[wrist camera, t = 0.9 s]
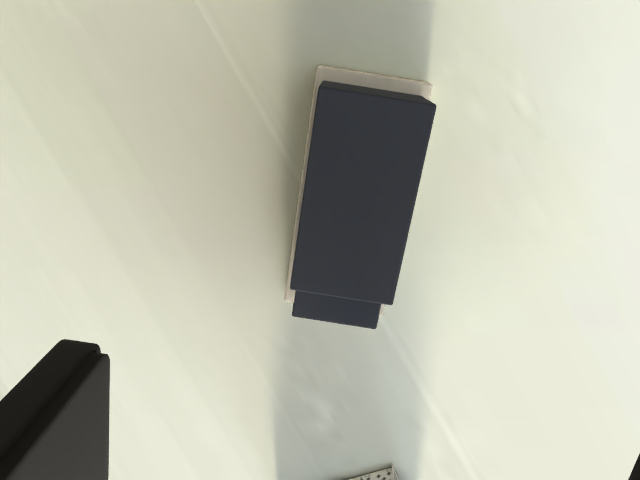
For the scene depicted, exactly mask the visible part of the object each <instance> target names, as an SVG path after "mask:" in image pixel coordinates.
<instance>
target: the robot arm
mask: <svg viewBox="0 0 640 480" xmlns="http://www.w3.org/2000/svg"><path fill="white" fill-rule="evenodd" d="M109 387H110V359H109V356H108V355H107V354H102V353H101V351H100V347H99V345H97V344H94V343H87V342H80V341H73V340H67V339H64V340H61V341H60V342H58V343H57V344H56V345H55V346H54V347H53V348H52V349H51V350H50V351H49V352H48V353H47V354H46V355H45V356H44V357H43V358H42V359H41V360H40V361H39V362H38V363H37V365H36V366H35V367H34V368H33V369H32V370H31V371H30V372H29V373H28V374H27V375H26V376H25V377H24V378H23V379H22V380H21V381H20V382H19V383H18V384H17V385H16V386H15V387H14V388H13V389H12V390H11V391H10V392H9V393H8V394H7V395H6V396H5V397H4V398H3V399H2V400H1V401H0V480H108V466H109ZM628 480H640V454H639V456H638V459H637V461H636V463H635V466H634V468H633V470H632V472H631V475H630V477H629V479H628Z"/></svg>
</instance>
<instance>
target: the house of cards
mask: <svg viewBox="0 0 640 480" xmlns="http://www.w3.org/2000/svg"><path fill="white" fill-rule="evenodd" d="M348 480H399V479H398V477H397V474H396V472H395V470H394V467H393V465H392V468H388V469H385V470H381V471H377V472H374V473H370V474H366V475H363V476H359V477H356V478H352V479H348Z"/></svg>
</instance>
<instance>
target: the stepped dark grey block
mask: <svg viewBox="0 0 640 480" xmlns="http://www.w3.org/2000/svg"><path fill="white" fill-rule="evenodd" d="M431 90H432V84H430V83H428V82H424V81H418V80H411V79H405V78H399V77H392V76H386V75H380V74H374V73H367V72H361V71H355V70H348V69H342V68H336V67H330V66H323V65H319V66H317V69H316V76H315V83H314V90H313V98H312V105H311V112H310V119H309V126H308V133H307V141H306V148H305V155H304V162H303V169H302V176H301V183H300V191H299V198H298V205H297V212H296V219H295V226H294V234H293V241H292V248H291V255H290V262H289V269H288V277H287V284H286V291H285V298H284V300H285V301H287V302H293V303H294V304H293V311H292V316H294V317H300V318H307V319H313V320H320V321H326V322H333V323H339V324H346V325H352V326H359V327H365V328H371V329H376V327H377V322H378V318H379V316H382V315H383V313H384V308H385V304H386V305H392V304H393V300H394V296H395V291H396V287H397V282H398V278H399V273H400V269H401V264H402V260H403V255H404V251H405V246H406V242H407V237H408V233H409V228H410V224H411V219H412V214H413V210H414V205H415V201H416V196H417V192H418V187H419V183H420V178H421V174H422V169H423V165H424V160H425V156H426V151H427V147H428V142H429V138H430V133H431V129H432V124H433V120H434V115H435V111H436V105H435V104H434V103H432V102H431V101H429V100H430V95H431Z"/></svg>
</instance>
